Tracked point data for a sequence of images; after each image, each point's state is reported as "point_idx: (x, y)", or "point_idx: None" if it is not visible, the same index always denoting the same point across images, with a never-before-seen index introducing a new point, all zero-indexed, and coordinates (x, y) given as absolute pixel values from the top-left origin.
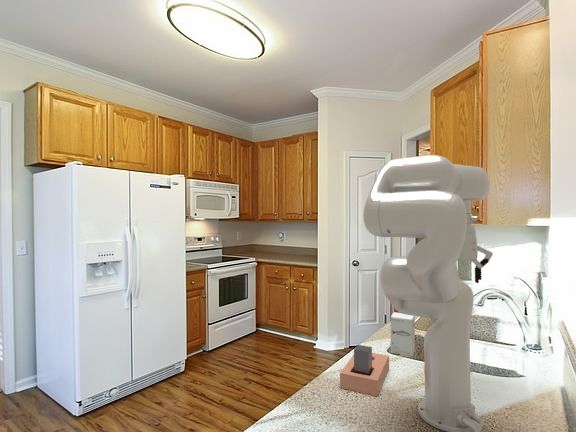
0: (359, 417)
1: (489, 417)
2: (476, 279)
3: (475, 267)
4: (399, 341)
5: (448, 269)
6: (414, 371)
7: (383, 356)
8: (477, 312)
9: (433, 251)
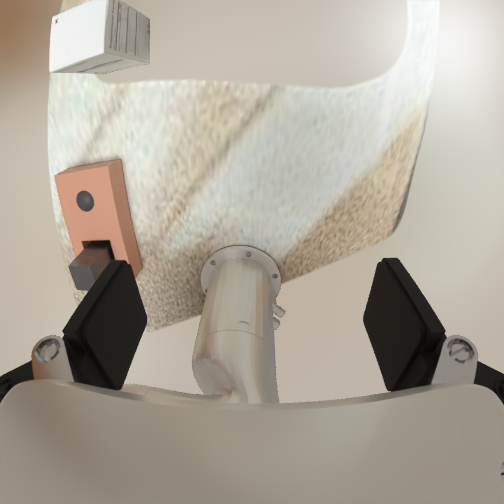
0: (147, 316)
1: (296, 256)
2: (372, 333)
3: (430, 331)
4: (106, 68)
5: None
6: (166, 141)
7: (101, 177)
8: None
9: None
